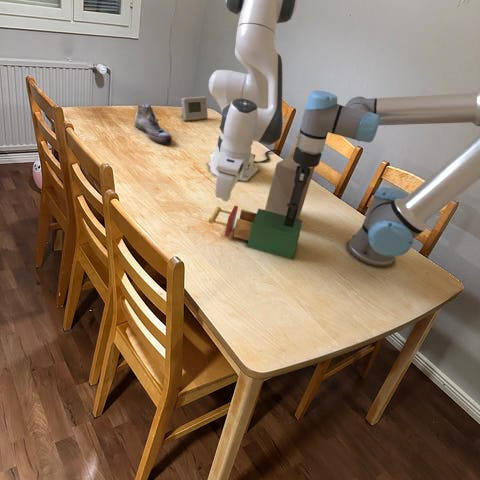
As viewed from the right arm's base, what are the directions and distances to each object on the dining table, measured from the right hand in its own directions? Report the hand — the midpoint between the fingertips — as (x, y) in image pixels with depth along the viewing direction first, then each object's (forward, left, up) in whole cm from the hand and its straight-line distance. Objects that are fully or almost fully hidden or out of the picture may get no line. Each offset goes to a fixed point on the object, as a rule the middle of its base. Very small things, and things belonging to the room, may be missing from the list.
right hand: (290, 215), depth 133 cm
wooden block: (-4, -20, -12) cm, 24 cm away
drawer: (+13, -5, -11) cm, 18 cm away
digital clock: (+23, -113, -12) cm, 116 cm away
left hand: (+19, -7, -1) cm, 21 cm away
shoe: (+42, -82, -12) cm, 93 cm away
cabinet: (+3, -1, -12) cm, 12 cm away
